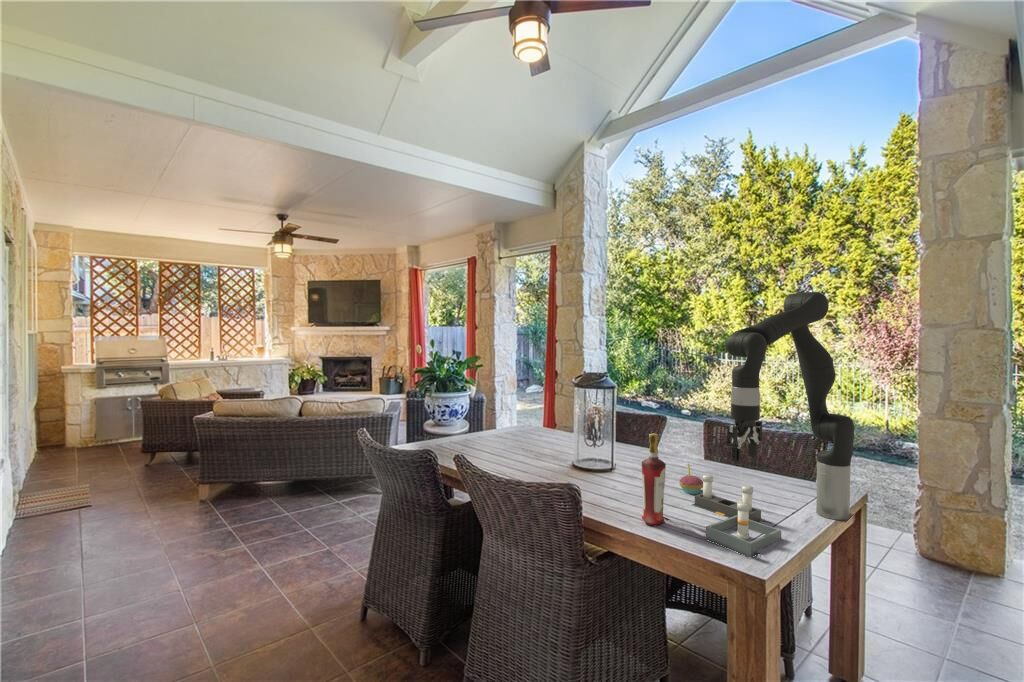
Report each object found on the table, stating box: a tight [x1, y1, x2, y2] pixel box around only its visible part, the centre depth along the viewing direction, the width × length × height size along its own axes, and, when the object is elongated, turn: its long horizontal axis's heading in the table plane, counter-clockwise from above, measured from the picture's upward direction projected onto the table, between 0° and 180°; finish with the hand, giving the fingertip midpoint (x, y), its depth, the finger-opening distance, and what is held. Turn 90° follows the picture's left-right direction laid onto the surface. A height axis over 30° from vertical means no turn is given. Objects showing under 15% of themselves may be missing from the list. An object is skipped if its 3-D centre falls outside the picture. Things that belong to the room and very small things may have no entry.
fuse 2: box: [741, 485, 754, 513], centre depth 155 cm, size 3×3×10 cm
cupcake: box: [678, 462, 703, 495], centre depth 181 cm, size 9×8×12 cm
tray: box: [705, 515, 782, 558], centre depth 142 cm, size 16×14×4 cm
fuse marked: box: [736, 501, 750, 540], centre depth 142 cm, size 3×3×10 cm
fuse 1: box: [702, 474, 714, 500], centre depth 167 cm, size 3×3×10 cm
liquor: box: [641, 433, 667, 526], centre depth 156 cm, size 7×7×28 cm
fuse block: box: [691, 492, 765, 523], centre depth 161 cm, size 8×21×4 cm, turn 34°
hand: (744, 459), depth 141 cm, fingers open, 8 cm apart
